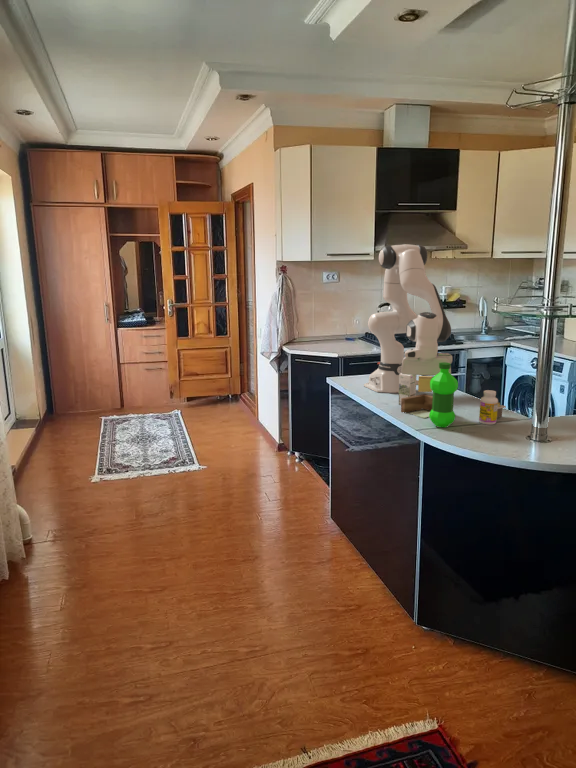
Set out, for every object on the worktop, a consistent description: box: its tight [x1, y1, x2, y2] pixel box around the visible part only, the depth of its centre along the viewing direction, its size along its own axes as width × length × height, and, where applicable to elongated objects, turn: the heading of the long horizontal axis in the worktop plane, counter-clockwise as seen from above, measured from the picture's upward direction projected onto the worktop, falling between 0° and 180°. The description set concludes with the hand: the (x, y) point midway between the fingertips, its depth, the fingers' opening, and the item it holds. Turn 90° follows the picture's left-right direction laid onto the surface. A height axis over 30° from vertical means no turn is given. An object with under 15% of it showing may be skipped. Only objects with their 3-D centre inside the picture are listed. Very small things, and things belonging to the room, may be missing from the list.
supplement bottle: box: [478, 389, 499, 426], centre depth 222 cm, size 7×7×13 cm
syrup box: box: [398, 373, 417, 406], centre depth 250 cm, size 6×6×14 cm
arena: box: [400, 393, 433, 414], centre depth 237 cm, size 16×14×6 cm
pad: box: [409, 409, 431, 419], centre depth 236 cm, size 8×8×1 cm
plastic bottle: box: [428, 362, 459, 428], centre depth 218 cm, size 10×10×25 cm
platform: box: [497, 402, 506, 418], centre depth 230 cm, size 12×18×7 cm, turn 109°
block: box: [417, 375, 433, 393], centre depth 233 cm, size 6×6×6 cm
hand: (425, 385), depth 233 cm, fingers closed on block, 5 cm apart
